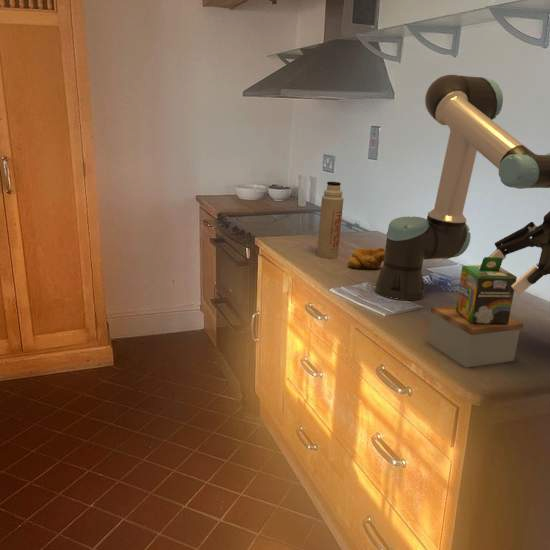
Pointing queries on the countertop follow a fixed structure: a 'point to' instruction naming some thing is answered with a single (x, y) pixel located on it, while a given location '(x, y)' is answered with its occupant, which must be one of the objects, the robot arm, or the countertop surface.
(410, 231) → the robot arm
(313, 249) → the countertop surface
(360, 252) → the bread roll
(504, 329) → the walnut lid
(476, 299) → the chalk box
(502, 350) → the grey crate
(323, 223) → the thermos bottle
